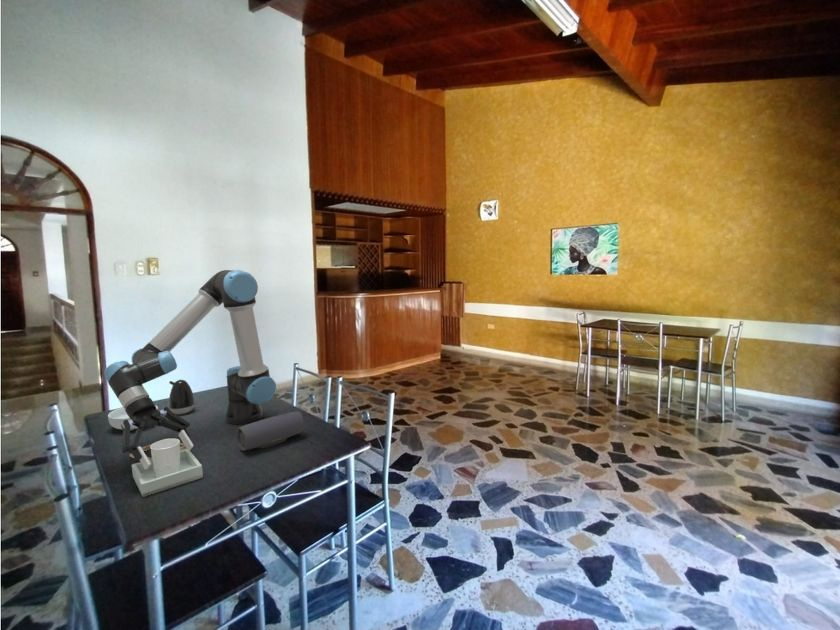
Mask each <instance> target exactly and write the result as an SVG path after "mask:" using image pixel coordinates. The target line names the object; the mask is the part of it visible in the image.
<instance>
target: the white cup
mask: <svg viewBox="0 0 840 630" xmlns="http://www.w3.org/2000/svg"><path fill="white" fill-rule="evenodd" d="M163 439H164V440H163ZM163 439H161V440H158V441H157V440H156V441H155V442H152V443H151V444H152V445H151V446H150V449H151V450H150V453H151V455H150V456H151V458H152V462H153V468H154V472H155V477H156V478H159V477H162V476H165V475H169V474H172V473H175V472H178V471H180V443H181V441H180V440H181V439H178V438H175V437H174V438H167V439H165V438H163Z"/></svg>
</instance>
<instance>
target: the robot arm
mask: <svg viewBox="0 0 840 630" xmlns="http://www.w3.org/2000/svg"><path fill="white" fill-rule="evenodd" d="M258 289H259V285H258V282H257V280H256V278H255V277H254V276H253V275H252V274H251V273H250V272H247V271H244V270H241V269H235V270H234V269H232V270H231V269H224V270H221V271H218V272H216V273H215V274H214V275H212V276H211V277H210V278H209V279H208V280H207V281H206V282H205V283H204V284H203V285H202V287H200V288H199V289H198V294H197V295H196V296H195V297H194V298H193V299H192V300H191V301H190V302H189V303H188V304H187V305H186V306H185V307H183V309H182V310H181V311H179V313H177V314H176V316H174V318H172V319H171V320H170V321H169V322H168V323H167V324H166V325H165V326H164V327H163V328H162V329H161V330H160V331H159V332H158V333H157V334H156V335H155V336H154V337H153V338H152V339H151V340H150V341H149V342H147V344H146V345H144V346H143V348H139V349H137V350H135V351H134V352H133V353H132V356H131V363H129V362H128V361H126V360H121V361H116V362H113V363H110V364H109V365H108V366H107V367H105V370H104V371H103V376H104V377H105V379H106V382H107V383H108V385H109V387H110V388H111V390H112V391H113V394H114V395H115V397H116V398H117V399H118V401H119V403H120V405H121V406H122V407H123V408H124V409H125V411H126V413H127V415H128V416H129V418H130V419H131V420H129V421H128V420H124V422H123V423H122V425H121V427H122V429H123V430H122V429H121V430H122V444H121V445H122V446H121V453H123V454H126V453H128V454H129V453H130V454H133V456H134V458H133V459H135V461H139V462H141V464H142V465H143V467H144V469H148V467H149V466H150V465H151V463H150V461H149V460H148V458H147V457H148V456H147V455H146V454H145V452H144V451H143V450H142V447H141V446H140V445H139V441H140V439H141V436H142V434H143V433H142V432H143V430H149V429H150V428H155V427H156V426H158V427H164V428H165V429H169V430H172V431H173V432H176V433H177V434H178V437H179V438H180V439H179V440H181V443H183V444H184V445H185V447H186V448H187V450H188V451H191V450H192V449H193V447H194V444H193V442H192V440H191V439H190V438H191V435H190V433H189V431H188V430H187V429H188V428H189V427H190V423H191V422H188V421H187V420H185V419H184V418H182V417H180V416H179V415H178V414H174V413H173V412H172V411H171V409H170V408H169V406H168V407H167V406H165V407H164V408H163V409H160V410H159V409H158V410H157V409H156V406H157V405H156V404H155V403H154V401H153V400H152V398H151V397H150V394H149V393H148V391H147V390H146V388H145V387H144V385H143V384H146V383H148V382H150V381H153V380H156V379H158V378H160V377H163V376H165V375H168V374H169V373H171V372H173V371H175V370H176V369H177V368H178V364H177V361H176V358H175V357H174V355H173V353H172V352H171V351H173V349H174V348H176V346H177V345H179V343H180V342H181V341H182V340H183V339H185V337H186V336H187V335H188V334H189V333H190V332H191V331H192V330H193V329H194V328H195V327H196V326H197V325H198V324H200V323H201V321H203V319H204V318H205V317H207V315H208V314H209V313H210V312H211V311H212V310H213V309H214V308H216V307H220V306H221V305H222V304H223V308H224V309H225V310H226V311H227V310H228V312H229V315H230V321H231V327H232V331H233V336H234V340H235V341H234V342H235V346H236V350H237V351H236V352H237V355H238V360H239V362H238V363H239V365H237V366H231V367H229V368H228V369H227V370H226V384H227V385H226V386H227V396H228V397H227V398H228V400H227V401H228V403H227V407H226V411H225V413H224V421H225V422H226V423H228V424H229V425H230V424H231V425H243V424H250V423H253V422H257V421H259V420H261V419H262V417H263V416H264V414H263V413H264V412H263V408H262V406H261V405H263V404H265V403H268V402H269V401H271V399H272V398H273V397H274V395H275V394H276V390H277V384H276V381H275V380H274V379H273V378H272V377H271V375H270V370H269V369H270V368H269V366H267V365H266V364H264V360H263V355H262V350H261V344H260V339H259V334H258V328H257V324H256V318H255V317H256V316H255V313H254V306H255V305H256V303H257V300H256V296H257V294H258V291H259V290H258ZM155 405H156V406H155ZM131 425H134V426H137V427H138V428H137V430H135V434H134V435H133V440H132V442H130V441H131V430H130V427H131ZM130 444H131V445H130ZM138 445H139V446H138Z"/></svg>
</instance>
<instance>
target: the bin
mask: <svg viewBox="0 0 840 630" xmlns="http://www.w3.org/2000/svg"><path fill="white" fill-rule="evenodd" d="M149 461H150V463H151V465H150V466H149V467H148V469H144V467H143V465H142V464H141V462H140V461H139V462H136V463H132V464H131V470H132V471H131V472H132V478H133V480H134V482H135V484H136V486H137V488H138V490H139V493H140V494H141V496H142V498H146V497H148V495H149V496H152V495H154V494H156V493H160V492H164V491H166V490H170V489H172V488H175V487H178V486H181V485H184V484H188V483H191V482H193V481H197V480H199V479H203V477H204V474H203V473H204V472H203V464H201V463H200V462H199V460H198V459H197V458H196V456H195V455H194V454H193V453H192V452H191V450H189V451H188V450H187V449H186V450H182V451H180V471H178V472H175V473H172V474H169V475H165V476H162V477H159V478H156V477H155V472H154V468H153V462H152V459H150V460H149ZM151 494H152V495H151Z"/></svg>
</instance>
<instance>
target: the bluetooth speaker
mask: <svg viewBox="0 0 840 630" xmlns="http://www.w3.org/2000/svg"><path fill="white" fill-rule="evenodd" d="M305 426H306V424H305V420H304V418H303V414H302V413H301V412H300V411H292V412H291V411H290V412H286V413H282V414H278V415H274V416H271V417H267V418H264V419H259V420H256V421H253V422H250V423H246V424H245V425H242V426H240V427H237V430H236V441H237V444H238V447H239V449H240V450H242V451H243V452H244V451H249V450H252V449H256V448H258V449H265V448H268V447H271V446H274V445H275V446H276V445H278V444H281V443H284V442H286V441H287V439H288V438H291V437H294V436H296V435H299V434H300V433H303V432H304V430H305V428H306V427H305Z"/></svg>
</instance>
